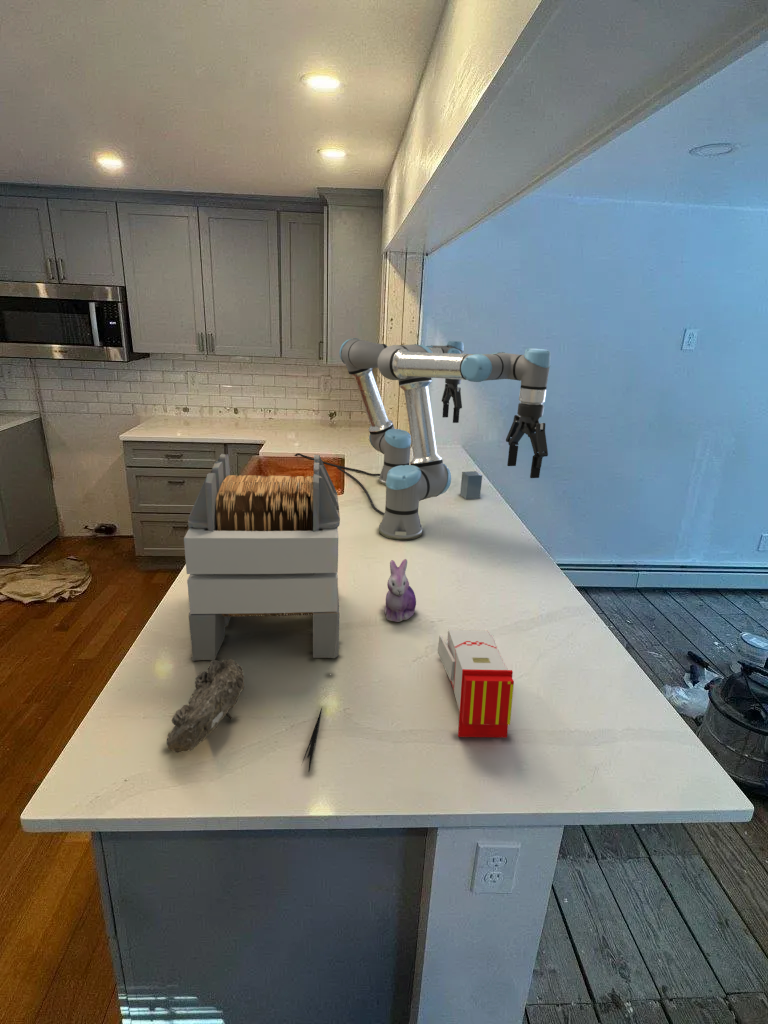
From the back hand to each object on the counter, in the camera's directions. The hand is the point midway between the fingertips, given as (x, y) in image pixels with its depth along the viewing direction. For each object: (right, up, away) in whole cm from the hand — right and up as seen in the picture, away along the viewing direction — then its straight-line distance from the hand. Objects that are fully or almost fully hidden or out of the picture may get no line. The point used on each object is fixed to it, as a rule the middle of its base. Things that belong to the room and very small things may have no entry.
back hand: (450, 420), depth 275 cm
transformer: (-60, -72, -134) cm, 163 cm away
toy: (-14, -82, -156) cm, 177 cm away
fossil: (-65, -84, -167) cm, 198 cm away
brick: (+5, -38, -31) cm, 49 cm away
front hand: (+11, -32, -99) cm, 105 cm away
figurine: (-28, -71, -127) cm, 149 cm away
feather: (-45, -85, -166) cm, 192 cm away
